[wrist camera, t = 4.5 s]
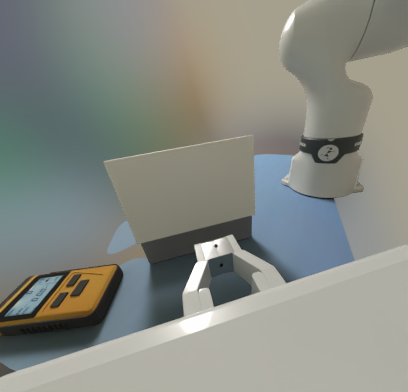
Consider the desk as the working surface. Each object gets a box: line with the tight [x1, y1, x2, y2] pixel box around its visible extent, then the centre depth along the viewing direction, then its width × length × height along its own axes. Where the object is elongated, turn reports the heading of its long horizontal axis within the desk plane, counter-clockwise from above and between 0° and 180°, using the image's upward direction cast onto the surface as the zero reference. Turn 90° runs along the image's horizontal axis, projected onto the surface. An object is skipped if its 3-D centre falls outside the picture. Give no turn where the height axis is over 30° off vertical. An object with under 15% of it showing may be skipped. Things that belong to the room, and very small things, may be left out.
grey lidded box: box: [141, 215, 252, 264], centre depth 33 cm, size 20×13×6 cm, turn 103°
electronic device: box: [0, 264, 123, 336], centre depth 23 cm, size 8×16×3 cm, turn 93°
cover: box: [104, 135, 255, 244], centre depth 23 cm, size 20×13×1 cm
